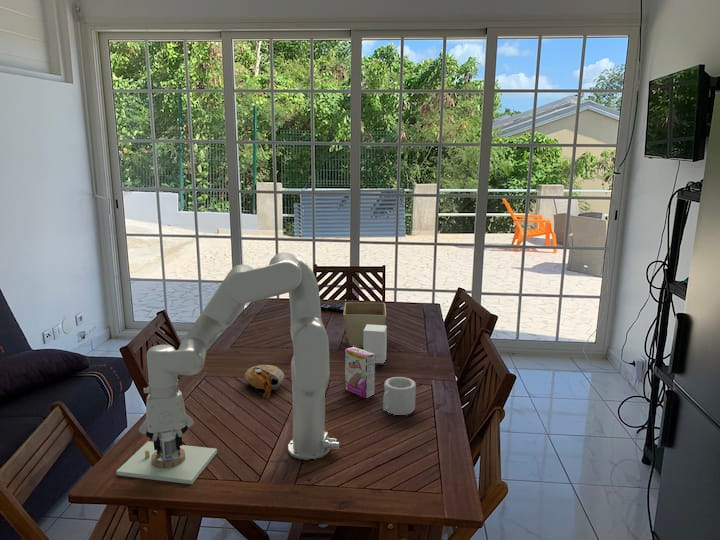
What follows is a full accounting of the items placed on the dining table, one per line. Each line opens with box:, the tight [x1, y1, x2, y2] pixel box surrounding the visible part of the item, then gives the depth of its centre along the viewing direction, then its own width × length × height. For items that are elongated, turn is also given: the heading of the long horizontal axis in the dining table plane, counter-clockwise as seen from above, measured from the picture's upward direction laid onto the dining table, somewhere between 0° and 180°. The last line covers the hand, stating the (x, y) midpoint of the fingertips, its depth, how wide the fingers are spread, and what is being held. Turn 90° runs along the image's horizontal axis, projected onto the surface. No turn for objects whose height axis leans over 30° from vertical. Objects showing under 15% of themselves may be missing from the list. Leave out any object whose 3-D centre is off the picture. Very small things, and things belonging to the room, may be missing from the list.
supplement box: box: [362, 324, 388, 363], centre depth 231 cm, size 9×9×15 cm
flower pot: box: [342, 301, 387, 346], centre depth 253 cm, size 19×19×17 cm
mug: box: [382, 376, 417, 416], centre depth 188 cm, size 14×11×10 cm
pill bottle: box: [158, 430, 178, 460], centre depth 155 cm, size 5×5×8 cm
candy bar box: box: [344, 346, 376, 399], centre depth 201 cm, size 11×5×16 cm, turn 47°
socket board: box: [116, 440, 218, 485], centre depth 156 cm, size 22×16×3 cm
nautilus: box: [244, 364, 285, 400], centre depth 204 cm, size 8×22×15 cm
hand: (168, 449), depth 155 cm, fingers closed on pill bottle, 4 cm apart
